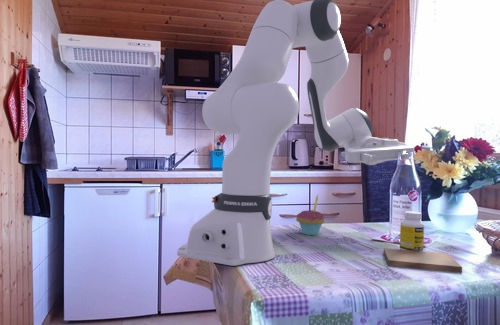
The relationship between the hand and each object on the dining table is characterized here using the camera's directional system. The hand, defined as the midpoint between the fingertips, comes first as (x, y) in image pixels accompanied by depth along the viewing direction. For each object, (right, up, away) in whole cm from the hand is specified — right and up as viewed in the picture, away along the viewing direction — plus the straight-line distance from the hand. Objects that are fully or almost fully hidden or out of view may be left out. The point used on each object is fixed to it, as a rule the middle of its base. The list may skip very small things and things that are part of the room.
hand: (389, 158), depth 100 cm
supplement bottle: (+1, -24, -11) cm, 26 cm away
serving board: (-2, -24, -21) cm, 31 cm away
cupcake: (-21, -23, +8) cm, 32 cm away
